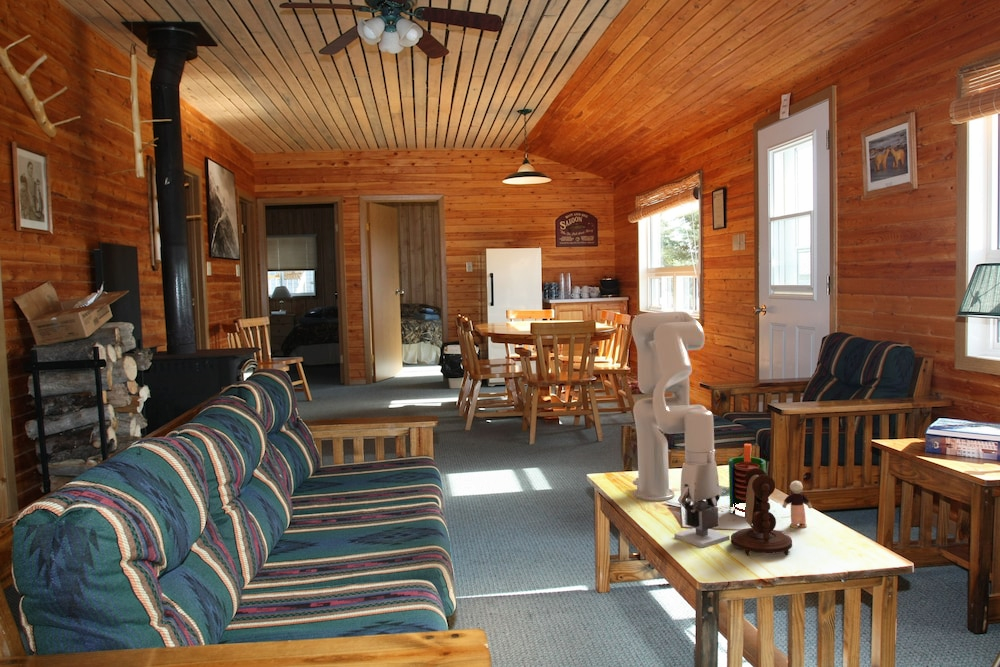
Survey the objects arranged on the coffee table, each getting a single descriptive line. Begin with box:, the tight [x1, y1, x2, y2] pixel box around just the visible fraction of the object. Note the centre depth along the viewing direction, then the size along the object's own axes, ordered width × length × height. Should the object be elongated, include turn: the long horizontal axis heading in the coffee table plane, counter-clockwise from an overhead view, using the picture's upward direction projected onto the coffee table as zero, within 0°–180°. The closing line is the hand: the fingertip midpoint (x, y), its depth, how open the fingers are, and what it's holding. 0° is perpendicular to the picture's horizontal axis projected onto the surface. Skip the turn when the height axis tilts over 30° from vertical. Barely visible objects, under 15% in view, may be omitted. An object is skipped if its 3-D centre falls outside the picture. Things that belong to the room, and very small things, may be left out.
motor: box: [728, 443, 767, 512], centre depth 218 cm, size 10×9×20 cm
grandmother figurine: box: [781, 480, 813, 529], centre depth 205 cm, size 8×4×13 cm, turn 97°
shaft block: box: [674, 500, 731, 548], centre depth 199 cm, size 10×10×10 cm
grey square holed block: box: [684, 504, 719, 531], centre depth 199 cm, size 6×6×5 cm
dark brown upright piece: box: [730, 468, 793, 557], centre depth 190 cm, size 15×15×20 cm
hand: (701, 522), depth 199 cm, fingers closed on grey square holed block, 6 cm apart
